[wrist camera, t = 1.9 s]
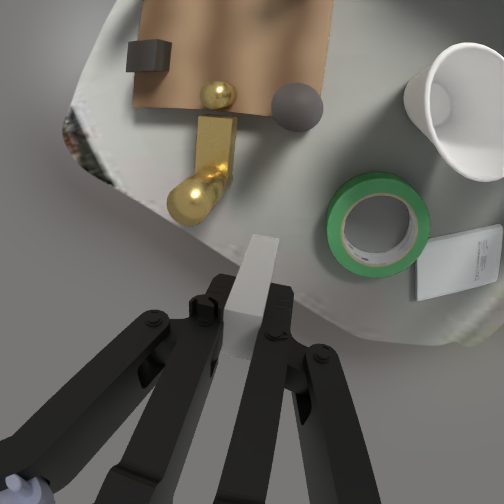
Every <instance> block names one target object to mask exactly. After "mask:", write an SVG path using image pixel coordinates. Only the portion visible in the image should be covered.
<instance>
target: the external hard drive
mask: <svg viewBox="0 0 504 504" xmlns="http://www.w3.org/2000/svg"><path fill="white" fill-rule="evenodd" d="M502 240H503V226H502V225H501V224H496V225H491V226H486V227H482V228H477V229H472V230H468V231H463V232H458V233H453V234H449V235H444V236H439V237H434V238H429V239H428V241H427V244H426V246H425V248H424V250H423V252H422V253H421V255H420V256H419V257H418V258H417V260H416V261H415V298H416V300H417V301H422V300H426V299H431V298H435V297H439V296H443V295H448V294H452V293H456V292H460V291H463V290H467V289H471V288H475V287H479V286H482V285H486V284H489V283H493V282H496V281H497V279H498V273H499V266H500V258H501V250H502Z"/></svg>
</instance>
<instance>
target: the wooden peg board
mask: <svg viewBox="0 0 504 504" xmlns="http://www.w3.org/2000/svg"><path fill="white" fill-rule="evenodd" d="M332 9H333V0H143V6H142V13H141V19H140V27H139V35H138V41H133V42H129V43H128V53H127V64H126V72H135V76H134V92H133V107H154V108H186V109H203V110H216V111H227V112H237V113H246V114H255V115H262V116H270V117H274V118H275V120H276V121H277V122H278V124H279V125H281V126H282V127H283V128H285V129H287V130H290V131H294V132H302V131H307V130H309V129H311V128H313V127H314V126H315V125H316V124H317V123H318V122H319V121H320V119H321V117H322V113H323V103H322V99H321V91H322V85H323V78H324V71H325V64H326V57H327V49H328V42H329V34H330V26H331V18H332ZM210 81H222V82H229V83H231V84H232V85H233V86H234V87H235V88H236V90H237V98H236V100H235V102H234V103H233V104H232V105H230V106H228V107H223V108H218V109H210V108H207V107H205V106H204V105H203V104H202V102H201V100H200V90H201V88H202V87H203V85H205V84H206V83H207V82H210Z"/></svg>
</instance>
